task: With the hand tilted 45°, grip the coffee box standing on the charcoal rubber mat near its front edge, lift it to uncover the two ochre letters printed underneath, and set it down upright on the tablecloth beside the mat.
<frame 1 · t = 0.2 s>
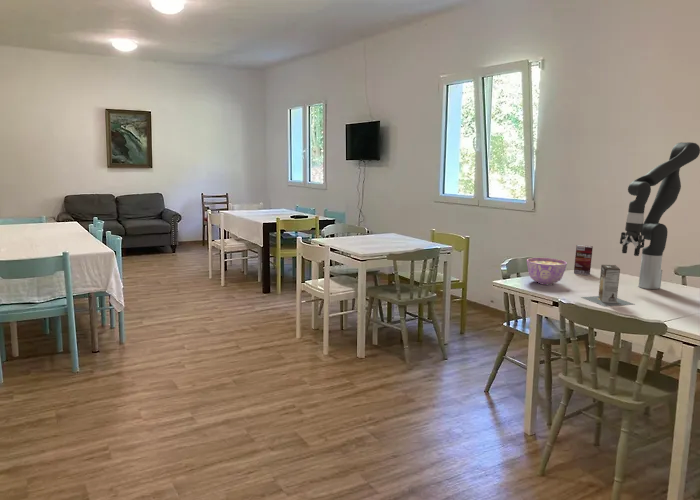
hand: (630, 254, 277), 18 cm above the table, tool pointing down, fingers open, 8 cm apart
code mat: (607, 300, 257), on the table
bowl of food: (544, 283, 291), on the table
coffee box: (607, 300, 257), resting on code mat
supplement box: (581, 274, 316), on the table
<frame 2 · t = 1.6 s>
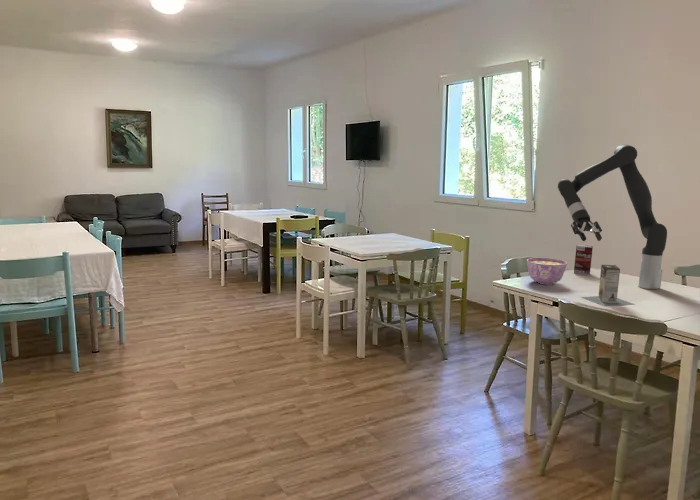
hand: (592, 240, 265), 26 cm above the table, tool tilted 45°, fingers open, 8 cm apart
nothing on the table moved.
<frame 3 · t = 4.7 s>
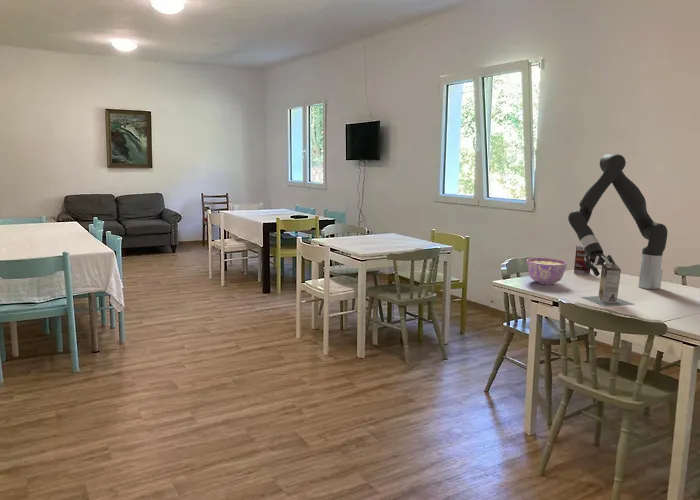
hand: (605, 275, 257), 12 cm above the table, tool tilted 45°, fingers open, 8 cm apart
coffee box: (607, 300, 257), resting on code mat, touching gripper
everything else where it was.
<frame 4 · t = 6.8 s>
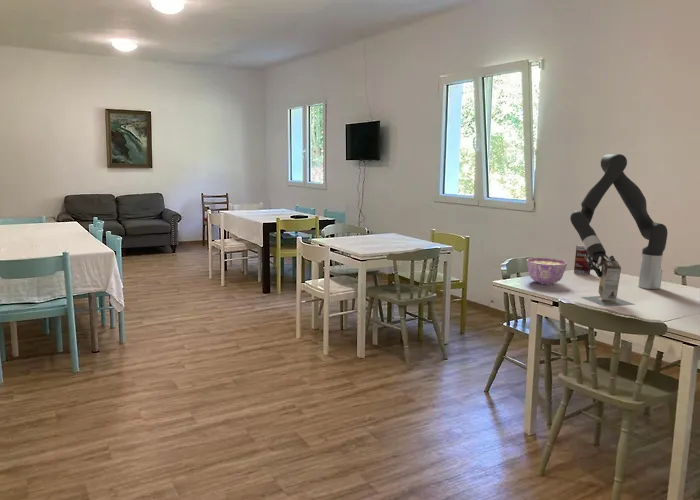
hand: (608, 276, 256), 11 cm above the table, tool tilted 45°, fingers closed on coffee box, 8 cm apart
coffee box: (607, 296, 257), point 2 cm above the table, touching gripper
everything else where it was.
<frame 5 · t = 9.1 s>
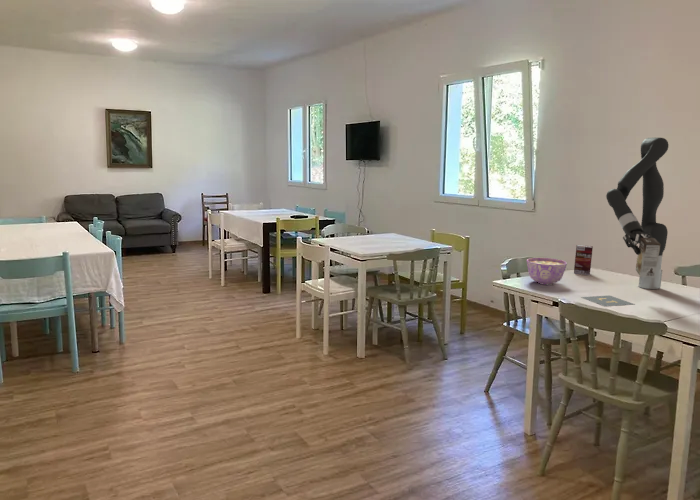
hand: (646, 253, 254), 22 cm above the table, tool tilted 45°, fingers closed on coffee box, 7 cm apart
coffee box: (644, 274, 255), point 13 cm above the table, touching gripper
everything else where it was.
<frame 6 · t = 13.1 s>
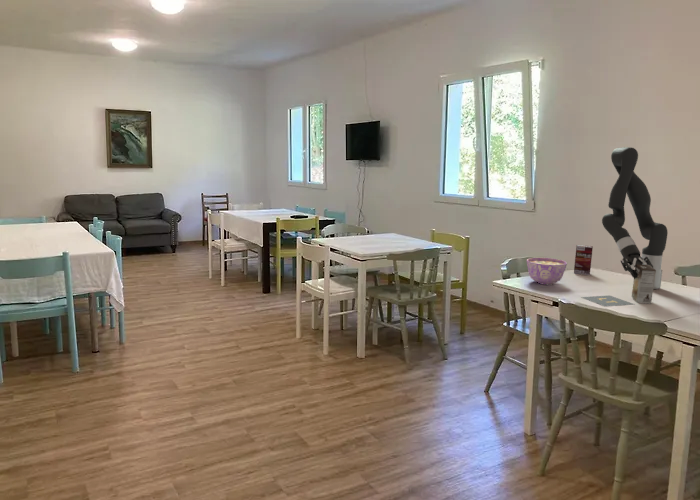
hand: (643, 277, 256), 11 cm above the table, tool tilted 45°
coffee box: (641, 300, 258), on the table, touching gripper
everything else where it was.
when the fingers open (12 cm above the table, at t = 13.9 s): coffee box stays where it is, on the table.
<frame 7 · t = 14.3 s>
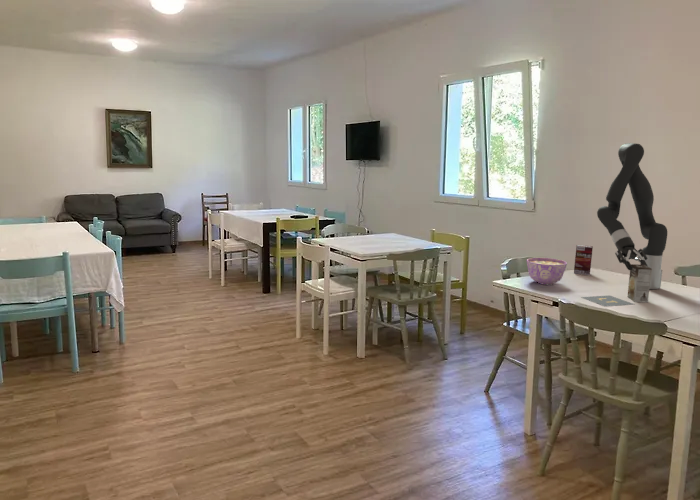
hand: (638, 268, 259), 14 cm above the table, tool tilted 45°, fingers open, 8 cm apart
coffee box: (637, 300, 260), on the table
everything else where it was.
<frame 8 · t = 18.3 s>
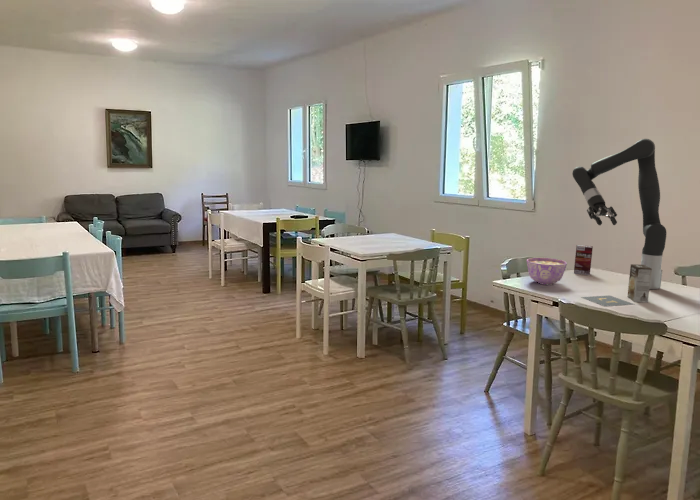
hand: (608, 224, 275), 33 cm above the table, tool tilted 45°, fingers open, 8 cm apart
nothing on the table moved.
at the end: coffee box inside the target area (2.5 cm from its centre), on the table; coffee box tilted 0°; coffee box touching table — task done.
